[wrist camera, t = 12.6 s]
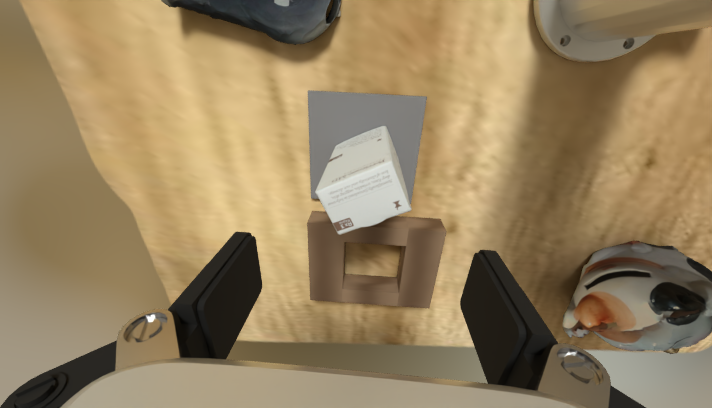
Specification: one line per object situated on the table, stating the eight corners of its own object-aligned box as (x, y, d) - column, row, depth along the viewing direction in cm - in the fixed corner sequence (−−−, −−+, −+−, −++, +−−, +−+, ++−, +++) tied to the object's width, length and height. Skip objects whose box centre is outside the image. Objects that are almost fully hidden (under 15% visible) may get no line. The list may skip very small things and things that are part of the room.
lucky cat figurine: (577, 327, 40) (600, 408, 29) (537, 256, 41) (543, 307, 29) (726, 308, 32) (843, 410, 20) (673, 218, 32) (759, 269, 21)
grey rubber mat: (425, 96, 27) (426, 96, 27) (410, 202, 33) (410, 204, 32) (308, 90, 28) (307, 90, 27) (311, 196, 33) (311, 198, 33)
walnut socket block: (440, 219, 33) (446, 231, 31) (425, 291, 39) (429, 308, 36) (312, 211, 34) (307, 223, 31) (314, 284, 39) (310, 300, 36)
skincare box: (385, 123, 28) (394, 153, 17) (399, 161, 30) (416, 210, 19) (332, 146, 30) (310, 188, 19) (349, 181, 31) (338, 238, 20)
